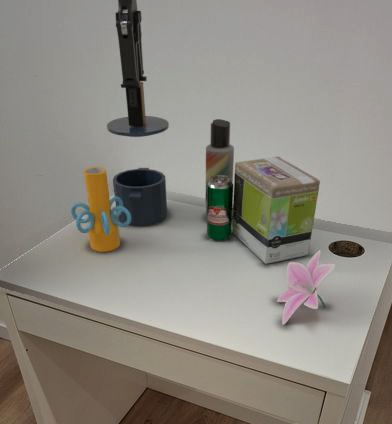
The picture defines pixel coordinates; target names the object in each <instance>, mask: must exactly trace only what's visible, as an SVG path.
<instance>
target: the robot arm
mask: <svg viewBox="0 0 392 424" xmlns="http://www.w3.org/2000/svg"><path fill="white" fill-rule="evenodd" d="M117 2H118V4H117V9H118V11H116V12H115V27H116V32H117V39H118V49H119V57H120V65H121V75H122V83H121V84H120V88H121V89H125V99H126V109H127V117H128V120H129V126H143V125H144V124H143V111H142V97H141V87H139V86H140V82H141V83H143V84H144V82H147V80H148V79H147V76H146V75H145V76H144V74H145V70H144V61H143V59H144V58H143V43H142V36H143V33H142V23H141V22H142V11H141V10H138V3H137V0H117ZM143 95H144V96H145V90H144V88H143ZM144 109H145V110H146V104H145V102H144ZM145 120H146V117H145Z"/></svg>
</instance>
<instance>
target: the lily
mask: <svg viewBox="0 0 392 424" xmlns="http://www.w3.org/2000/svg"><path fill="white" fill-rule="evenodd" d="M321 253H322V249H319V250H318V251H317V252H315V254H314V255H313V256H312V257H311V259H310V260H309V261H308V263H307V265H304V264H302V263H299V262H295V261H289V262H288V263H287V266H286V282H287V285H288V287H287V288H286V289H284V290H283V292H281V294H280V295H279V296H278V298H277V299H276V302H277V303H285V304H284V307H283V311H282V317H281V319H282V320H281V324H282V325H283V326H284V325H285V324H286V323H287V322H288V321H289V320H290V318H291V317H292V315H294V313H295V311H296V310H297V309H298V308H299V307H300V306H301V305H304V306H306V307H308V308H310V309H314V310H317V309H318V307H319V300H320V302H321V304H322V306H323V308H326V305H325V302H324V300H323V298H322V297H321V296H320V294H318V289H317V287H318V285H320V283H322V281H323V280H324V279H325V278H326V276H328V275H329V274H330V273H331V272H332V271H333V270H334V269H335V268H336V265H335V264H334V263H323V264H320V260H321V259H320V258H321ZM318 299H319V300H318Z"/></svg>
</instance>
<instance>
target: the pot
mask: <svg viewBox="0 0 392 424" xmlns="http://www.w3.org/2000/svg"><path fill="white" fill-rule="evenodd" d="M166 181H167V180H166V175H165V174H164V173H163V172H161V171H159V170H156V169H150V167H138V168H133V169H127V170H124V171H121V172H118V173H117V174H115V175H114V176H113V178H112V186H113V193H114V194H113V195H114V197H119V198H121V200H122V201H123V207H125V208H126V209H127V210H128V211H129V212H130V214H131V222H130V224H129V225H128V226H130V227H140V228H141V227H150V226H154V225H157V224H160V223H162V222H163V221H165V220H166V219H167V217H168V204H167V203H168V202H167V201H168V200H167V182H166ZM114 203H115V206H119V202H118V201H114ZM117 212H118V210H117V211H116V213H117ZM117 221H118V222H120V223H125V222H126V221H127V215H126V214H125V213H124V212H123V211H122V213H121V215H120V216H119V217H117Z"/></svg>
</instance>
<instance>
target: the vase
mask: <svg viewBox="0 0 392 424" xmlns="http://www.w3.org/2000/svg"><path fill="white" fill-rule="evenodd" d="M107 175H108V174H107V169H106V168H105V167H102V166H91V167H87V168H85V169H84V170H83V176H84V183H85V191H86V196H87V203H88V205H87V204H86V203H84V202H80V201H79V202H75V203H74V204H73V205H72V206H71V208H70V213H71V216H72V217H73V219H74V220H75V225H76V228H77V231H79V232H80V233H81V234H88V239H89V240H88V241H89V246H90V248H91V249H92V250H93V251H96V252H102V253H105V252H111V251H114V250H116V249H117V248H119V247H120V245H121V237H120V231H119V228H125V227H128V226H130V225H129V224H130V222H131V214H130V212H129V211H128V210H127V209H126V208H125V207H123V201H122V200H121V198H119V197H115V196H112V197H111V198H110V192H109V184H108V176H107ZM115 201H118V202H119V206H116V205H115V206H112V205H113V204H114V203H115ZM78 207H79V208H80V207H81V208H83V209H85V210H82V211H81V212H80V213H79V214H78V215H77V213H76V210H77V208H78ZM117 210H118V212H117ZM122 211H123V212H124V213H125V214H126V215H127V221H126V222H125V223H122V222H120V221H119V220H117V219H118V217H119V216H120V215H121V213H122ZM115 212H116V213H115ZM84 216H87V218H83V217H84ZM81 224H87V227H85V228H82V225H81Z"/></svg>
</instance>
